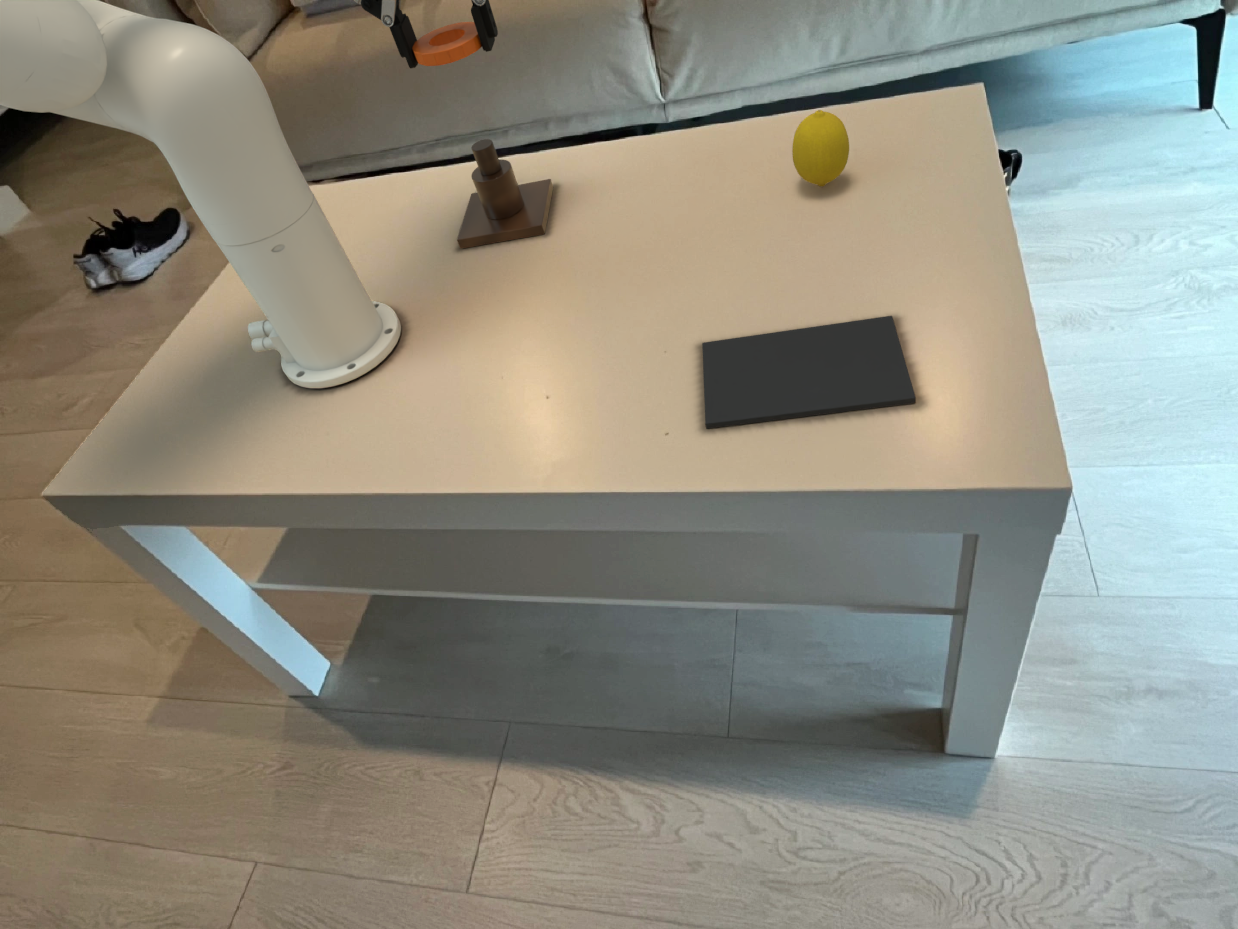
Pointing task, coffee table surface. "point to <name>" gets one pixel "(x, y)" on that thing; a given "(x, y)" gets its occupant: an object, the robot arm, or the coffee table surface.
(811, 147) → the lemon
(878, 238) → the coffee table surface
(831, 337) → the mat
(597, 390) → the coffee table surface
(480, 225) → the brown stepped peg stand
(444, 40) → the orange flat ring
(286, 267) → the robot arm
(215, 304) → the coffee table surface
